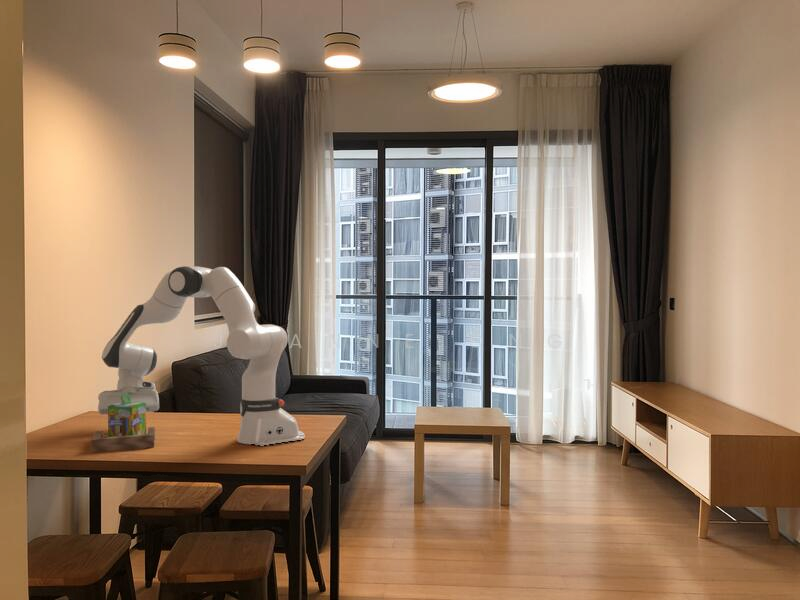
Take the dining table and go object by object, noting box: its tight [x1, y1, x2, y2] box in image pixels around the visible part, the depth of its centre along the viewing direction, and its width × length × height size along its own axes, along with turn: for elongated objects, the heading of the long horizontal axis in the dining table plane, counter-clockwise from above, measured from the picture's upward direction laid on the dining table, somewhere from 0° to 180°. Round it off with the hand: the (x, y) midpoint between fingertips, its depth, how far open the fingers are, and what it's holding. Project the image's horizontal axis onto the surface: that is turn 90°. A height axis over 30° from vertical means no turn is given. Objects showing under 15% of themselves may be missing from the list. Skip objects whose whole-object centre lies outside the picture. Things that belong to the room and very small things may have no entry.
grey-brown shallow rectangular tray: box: [91, 426, 156, 453], centre depth 194 cm, size 18×12×4 cm, turn 111°
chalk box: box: [107, 394, 147, 437], centre depth 205 cm, size 9×9×15 cm
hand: (128, 421), depth 211 cm, fingers closed
